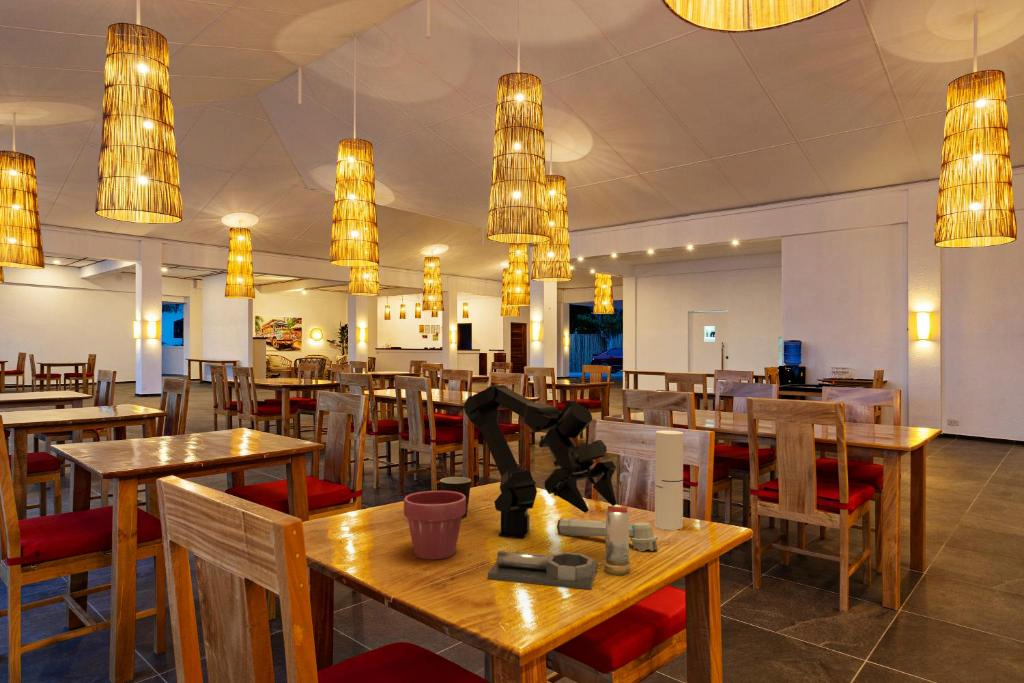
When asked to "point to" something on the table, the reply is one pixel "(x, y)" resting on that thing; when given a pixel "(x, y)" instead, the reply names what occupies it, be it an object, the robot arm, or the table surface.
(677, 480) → the cylindrical container
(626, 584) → the table surface
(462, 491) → the coffee mug
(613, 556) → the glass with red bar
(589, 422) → the robot arm
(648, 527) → the grey long bar
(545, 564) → the metal plate with ring
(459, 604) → the table surface
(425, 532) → the plant pot
